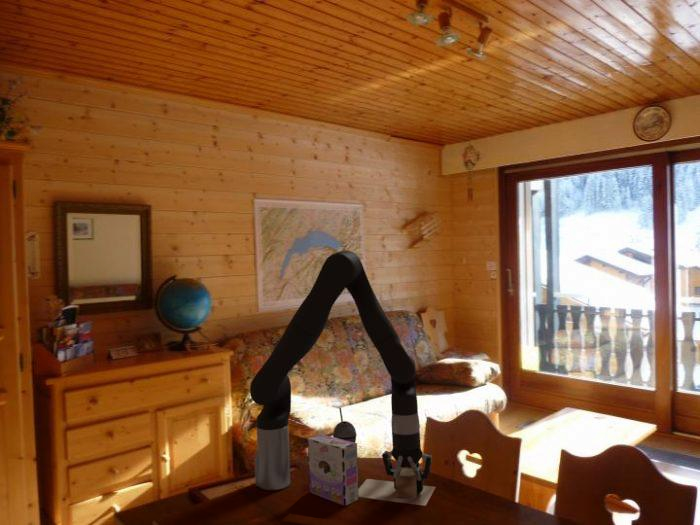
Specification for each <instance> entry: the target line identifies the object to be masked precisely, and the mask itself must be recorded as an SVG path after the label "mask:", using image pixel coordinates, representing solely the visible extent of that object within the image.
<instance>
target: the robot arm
mask: <svg viewBox="0 0 700 525" xmlns="http://www.w3.org/2000/svg"><path fill="white" fill-rule="evenodd" d="M345 289H346V290H347V291H348V293H349V294H350V296H351V297H352V299H353V301H354V303H355V306H356V309H357V311H358V314H359V317H360V320H361V323H362V326H363V328H364V330H365V332H366V334H367V335H368V338H369V339H370V340H371V343H372V344H373V346H374V348H375V349H376V351H377V352H378V353H379V356H380V358H381V361H382V362H383V364H384V366H385V369H386V370H387V372H388V375H389V377H390V382H391V397H390V398H391V401H390V403H391V421H390V422H391V438H392V440H391V442H392V450H391V451H388V450H385V451H384V452H383V453H382V454H381V457H382V461H383V465H384V468H385V473H386V475H387V476H391V477H392V478H393V482H394V488H395V489H396V484H395V479H396V477H397V476H398V475H399V473H400V472H401V470H402V469H403V468H408V469H412V470H413V472H414V473H415V475H416V478H417V494H420V493H421V492H422V490H423V486H424V480H427V479H428V477H429V476H430V474H431V469H432V463H433V454H432V453H429V454H427V453H423V451H422V447H421V430H420V429H421V424H420V417H419V416H420V415H419V410H418V409H419V408H418V396H417V392H416V371H417V369H416V368H417V367H416V364H415V361H414V359H413V357H412V356H410V355H409V354H408V353H407V351H406V349H405V348H404V346H403V344H402V342H401V339H400V336H399V335H398V333H397V332H396V331H397V330H396V329H395V326H393V324H392V323H391V320H390V319H389V317H388V316H387V315H386V312H385V311H384V309H383V307H382V306H381V304H380V302H379V300H378V298H377V297H376V294H375V292H374V290H373V288H372V286H371V283H370V280H369V278H368V276H367V273H366V270H365V268H364V265H363V263H362V261H361V259H360V256H358V255H357V254H356V253H355V252H354V251H351V250H345V249H344V250H341V251H337V252H334V253H332V254H330V255H329V256H328V257H326V259H325V261H324V262H323V264H322V266H321V269H320V271H319V273H318V275H317V277H316V279H315V281H314V284H313V286H312V287H311V290H310V291H309V293H308V295H306V297H305V298H304V299H303V301H302V303H301V304H300V306H299V307H298V309H297V310H296V312H295V313H294V315H293V316H292V317H291V320H290V322H289V323H288V325H287V326H286V328H285V330H284V332H282V335H281V337H280V338H279V340H278V342H277V343H276V345H275V346H274V349H273V350H272V352H271V353H270V355H269V357H268V358H267V360H266V361H265V362H264V364H263V365H262V366H261V367H260V369H259V370H258V371H257V373H256V374H255V376H253V379H252V380H251V383H250V387H249V392H250V394H249V395H250V398H251V399H252V402H254V403H255V404H257V405H259V406H262V409H261V411H260V412H259V413H258V415H257V417H256V443H257V444H256V445H257V448H256V450H257V451H255V453H254V469H255V470H254V477H255V482H254V483H255V487H259V488H260V489H262V490H266V491H277V490H281V489H285V488H287V487H288V486H290V485H291V466H290V465H291V464H290V463H291V462H290V437H289V436H290V435H289V430H290V429H289V418H290V416H291V412H292V411H291V410H292V409H291V408H292V386H291V385H292V384H291V380H290V377H289V375H288V374H289V373H290V371H292V369H293V368H294V367H295V366H296V365H297V364H298V363H299V362H301V360H302V359H304V358H305V356H306V355H307V354H309V352H310V351H311V349H313V347H315V345H316V344H317V341H319V338H320V336H321V335H322V333H323V332H324V330H325V327H326V325H327V322H328V321H329V320H328V319H329V317H330V312H331V310H332V308H333V306H334V304H335V303H336V301H337V300H338V299H339V297H340V296H341V295H342V293H343V292H344V290H345ZM392 458H393V459H394V460H395V462H396V463H395V468H394V467H393V463H392ZM421 459H422V461H423V463H424V471H422V469H421V468H422V467H421V463H420V460H421Z"/></svg>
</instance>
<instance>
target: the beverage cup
mask: <svg viewBox="0 0 700 525" xmlns="http://www.w3.org/2000/svg"><path fill="white" fill-rule="evenodd" d="M338 408H339V409H338V410H339V416H340V422H339V423H337V424H336V425H335V427H334V428H333V434H332V437H335V438H339V439H343V440H347V441H350V442H354V443H357V442H356V440H357V435H358V434H357V431H356V428H355V426H354V425H353V424H352V423H351V422H349V421H346V420H345V421H344V419H343V413H342V407H338Z"/></svg>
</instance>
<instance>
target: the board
mask: <svg viewBox="0 0 700 525" xmlns="http://www.w3.org/2000/svg"><path fill="white" fill-rule="evenodd" d="M435 489H436V486H429V485H423V490H422V492H421V493H420V494H418V495H417V497H416V499H415V500H408V499H400V498H396V489H395V488H394V481H390V480H379V479H371V478H366V479H365V481H364V482H363V483H362V484H361V485H360V486H359V487H358V492H359V498H364V499H373V500H379V501H386V502H387V501H388V502H394V503H402V504H410V505H419V506H424V507H425V506H427V504H428V503H429V500H430V499H431V496H432V495H433V493H434V491H435Z"/></svg>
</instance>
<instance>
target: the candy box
mask: <svg viewBox="0 0 700 525" xmlns="http://www.w3.org/2000/svg"><path fill="white" fill-rule="evenodd" d="M306 440H307V459H308V460H307V462H308V479H309V480H308V484H309V485H308V486H309V493H311V494H313V495H316V496H319V497H321V498H323V499H325V500H328V501H331V502H333V503H336V504H339V505H342V506H344V507H346V506H348V505H350V504H352V503H354V502H356V501H358V500H360V497H359V492H358V489H359V470H358V469H359V468H358V467H359V465H358V462H359V461H358V443H357V442H355V443H354V442H350V441H347V440H343V439H339V438H335V437H333V436H330V435H328V434H324V433H320V434H317V435H314V436H312V437H309V438H307V439H306Z"/></svg>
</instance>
